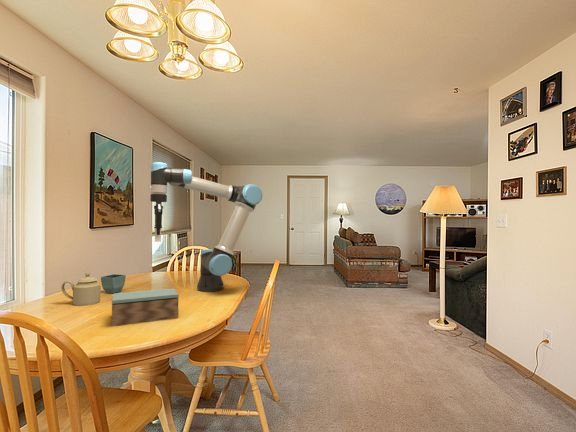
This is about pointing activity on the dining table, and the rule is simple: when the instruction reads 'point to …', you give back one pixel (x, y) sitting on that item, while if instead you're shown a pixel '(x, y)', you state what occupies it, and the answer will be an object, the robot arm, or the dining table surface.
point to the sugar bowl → (84, 291)
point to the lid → (144, 295)
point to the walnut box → (144, 311)
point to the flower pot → (113, 283)
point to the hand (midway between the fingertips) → (157, 241)
